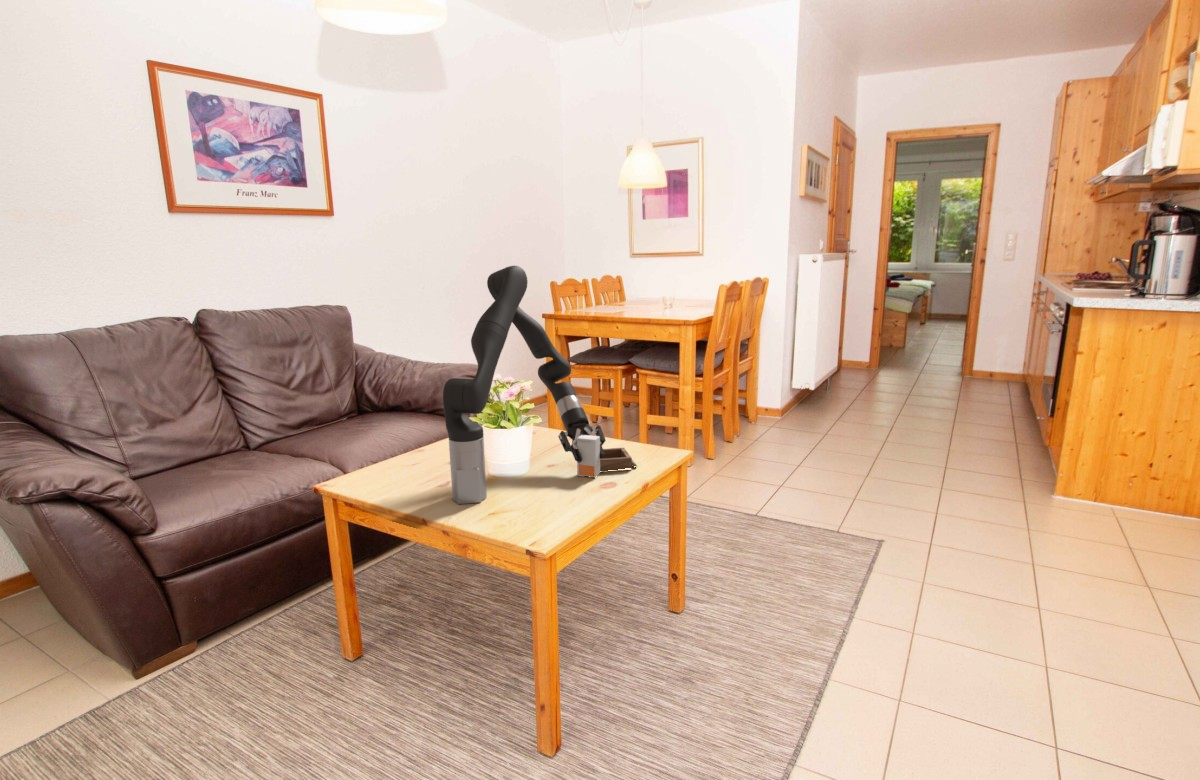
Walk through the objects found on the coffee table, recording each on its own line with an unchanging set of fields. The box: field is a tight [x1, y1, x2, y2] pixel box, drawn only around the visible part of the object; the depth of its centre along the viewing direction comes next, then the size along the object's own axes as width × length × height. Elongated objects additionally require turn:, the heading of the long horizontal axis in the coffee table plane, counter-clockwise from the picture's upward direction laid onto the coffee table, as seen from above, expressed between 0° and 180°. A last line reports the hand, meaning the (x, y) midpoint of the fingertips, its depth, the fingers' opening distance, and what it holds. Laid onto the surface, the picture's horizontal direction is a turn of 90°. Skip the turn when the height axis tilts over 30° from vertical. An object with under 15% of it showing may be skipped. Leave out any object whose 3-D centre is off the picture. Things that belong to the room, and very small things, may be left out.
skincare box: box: [576, 435, 601, 478], centre depth 189 cm, size 6×4×12 cm
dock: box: [600, 447, 638, 471], centre depth 198 cm, size 11×13×4 cm
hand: (591, 459), depth 187 cm, fingers closed on skincare box, 7 cm apart
